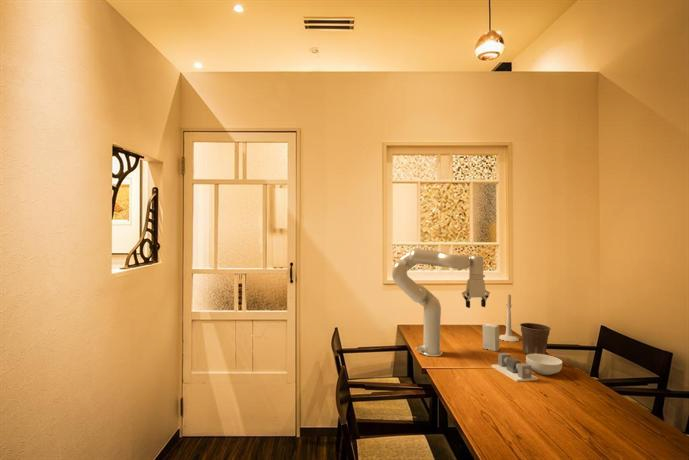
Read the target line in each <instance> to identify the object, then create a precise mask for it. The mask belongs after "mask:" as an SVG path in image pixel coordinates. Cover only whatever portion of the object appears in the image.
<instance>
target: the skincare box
mask: <svg viewBox="0 0 689 460" xmlns="http://www.w3.org/2000/svg"><path fill="white" fill-rule="evenodd" d="M499 336H500V325H499V324H494V323H493V324H492V323H487V322H486V323H484V324H482V349H483V348H484V349H483V350H487V349H488V350H489V351H491V352H498V351H500V346H501V345H500V344H501V343H500V340H499Z"/></svg>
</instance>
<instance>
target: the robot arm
mask: <svg viewBox="0 0 689 460" xmlns="http://www.w3.org/2000/svg"><path fill="white" fill-rule="evenodd" d="M418 264H419V265H426V266H427V265H428V266H435V267H436V266H437V267H443V268H449V269H450V268H451V269H460V270H466V269H468V268H469V271H468V272H469V274H468V275H469V277H468V279H467V282H466V287H465V290H464V291H462V292H461V295H462V297H463V299H464V300H465V307H466V308H468V309H471V299H472V298H481V301H480V306H481V307H482V308H486V305H487V304H486V303H487V300H488V298H489V296H490V295H491V292H490V291H488V290H486V283H485V279H484V278H485V277H486V275H484V257H483V256H482V255H477V254H474V255H470V254H469V255H467V254H451V253H445V252H442V251H438V250H429V249H421V248H417V247H415V248H413V249H412V250H410V251H409V252H408V253H407V254H405V255H404V256H401V258H399V259H398V260H396V262H395V263H394V265H393V269H392V273H391V275H392V280H393V281H394V283H395V284H396V286H397V287H398V288H400V290H402V291H403V293H405V294H406V295H407V296H408V297H409V298H410V299H411V300H412V301H414V302H415V303H418V304H420V305H421V307H423V333H422V334H423V340H422V342H423V344H421V346H415V349H414V350H415V351H419V352H420V353H421V354H422V355H424V356H427V357H433V358H434V357H441V356H442V355H443V351H442V350H441V316H442V305H441V303H440V300H439V299H438V297H436V296H435V295H434V294H433V293H432V292H431V291H430V290H428V289H427V288H426V287H425V286H423V285H422V284H418V283H416V282H415V281H414V280H413V278H411V277H410V276H409V275H408V271H409V270H410V269H412V268H413V267H416V265H418Z"/></svg>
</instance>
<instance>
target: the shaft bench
mask: <svg viewBox="0 0 689 460" xmlns="http://www.w3.org/2000/svg"><path fill="white" fill-rule="evenodd" d="M497 354H498V355H497V364H491V368H493V369H494V370H497V371H498V372H500V373H501V374H503V375H505V376H506V377H508V378H510V379H511V380H513V381H515V382H516V383H517V382H518V383H519V382H529V381H530V382H531V381H538V380H539V377H537V376H535V375H533V374H532V369H531V365H529V364H527V363H521V364H518V365H517V367H516V368H517V370H518V373H512V372H510V371H508V370H507V358H511V354H510V353H507V352H502V353H501V352H500V353H497Z"/></svg>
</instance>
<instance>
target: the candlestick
mask: <svg viewBox="0 0 689 460" xmlns="http://www.w3.org/2000/svg"><path fill="white" fill-rule="evenodd" d="M511 299H512V294H509V293H508V294H507V304H506V308H507V310H506V311H507V312H506V313H507V314H506V325H505V334H499V339H501V340H500V341H502V340H504V341H503V342H506V341H509V342H508V343H517V342H516V341H518V342H520V338H519V337H517V336H516V335H513V334H512V312H511V311H512V310H511V309H512V306H513V304H512V300H511Z"/></svg>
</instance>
